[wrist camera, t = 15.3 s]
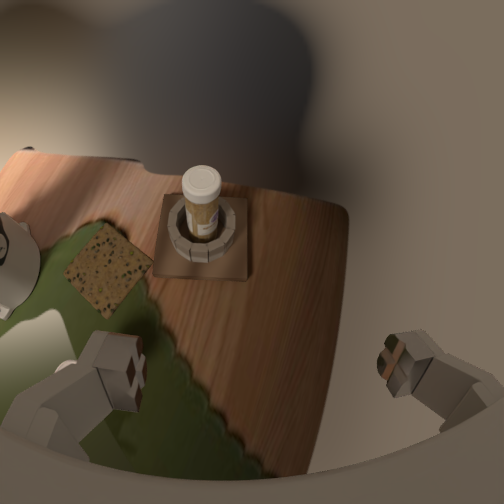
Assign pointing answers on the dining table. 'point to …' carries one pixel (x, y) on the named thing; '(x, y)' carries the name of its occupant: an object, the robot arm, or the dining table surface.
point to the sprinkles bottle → (202, 202)
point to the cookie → (107, 269)
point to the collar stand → (197, 254)
